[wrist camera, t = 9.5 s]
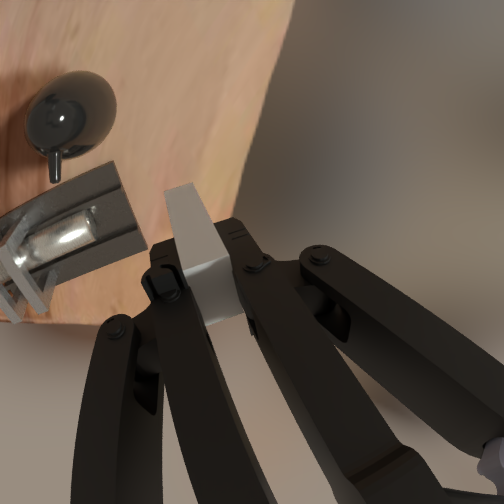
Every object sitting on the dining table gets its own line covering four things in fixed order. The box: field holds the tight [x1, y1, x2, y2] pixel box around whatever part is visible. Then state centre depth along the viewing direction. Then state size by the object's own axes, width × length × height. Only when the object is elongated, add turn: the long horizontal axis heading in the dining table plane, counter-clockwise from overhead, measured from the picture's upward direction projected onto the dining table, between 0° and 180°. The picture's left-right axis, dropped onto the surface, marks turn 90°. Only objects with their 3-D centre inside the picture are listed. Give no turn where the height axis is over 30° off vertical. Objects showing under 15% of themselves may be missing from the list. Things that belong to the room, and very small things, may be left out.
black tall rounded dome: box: [24, 71, 117, 184], centre depth 23 cm, size 10×10×15 cm
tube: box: [0, 209, 98, 283], centre depth 32 cm, size 18×4×4 cm, turn 101°
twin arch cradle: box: [0, 160, 148, 324], centre depth 32 cm, size 14×26×9 cm, turn 101°
